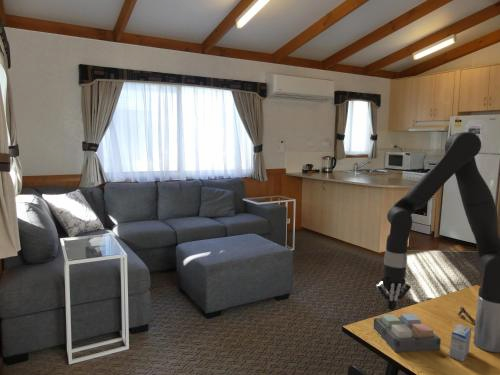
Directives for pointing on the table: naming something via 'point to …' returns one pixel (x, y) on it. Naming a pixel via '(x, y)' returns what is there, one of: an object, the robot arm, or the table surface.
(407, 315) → the blue key
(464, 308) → the wooden post with brackets
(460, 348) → the medicine box
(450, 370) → the table surface
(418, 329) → the terracotta key
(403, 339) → the keypad
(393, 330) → the cream key
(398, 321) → the sage key
